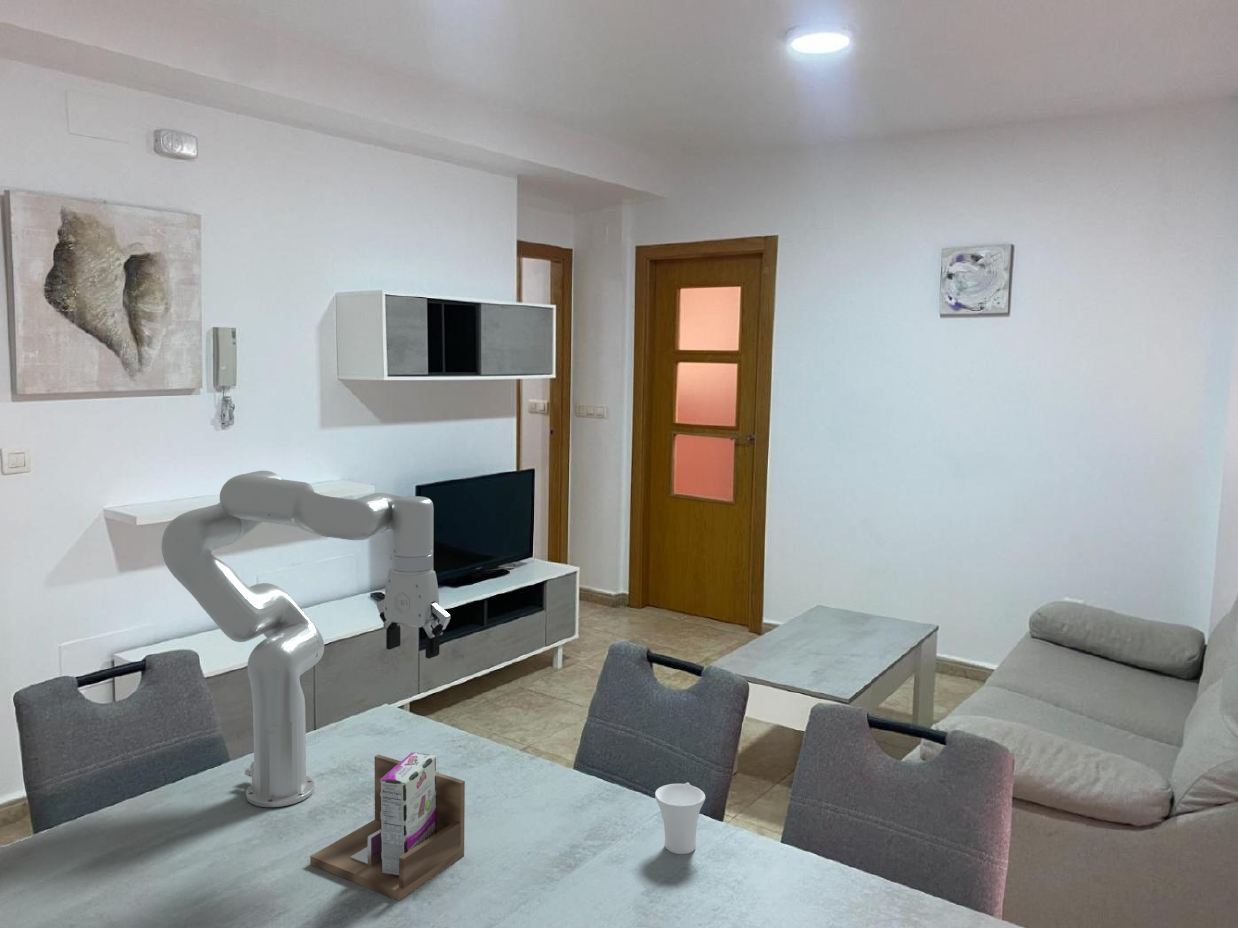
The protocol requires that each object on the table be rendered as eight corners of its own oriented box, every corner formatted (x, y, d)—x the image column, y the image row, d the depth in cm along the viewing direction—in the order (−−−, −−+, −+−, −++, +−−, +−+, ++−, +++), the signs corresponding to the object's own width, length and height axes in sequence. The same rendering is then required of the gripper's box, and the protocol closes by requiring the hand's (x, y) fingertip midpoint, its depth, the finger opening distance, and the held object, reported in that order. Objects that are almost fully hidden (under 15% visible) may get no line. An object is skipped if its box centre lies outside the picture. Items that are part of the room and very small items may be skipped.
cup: (710, 839, 168) (712, 787, 167) (692, 864, 159) (694, 808, 158) (665, 828, 171) (667, 776, 170) (645, 851, 163) (647, 797, 162)
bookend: (350, 858, 156) (350, 830, 155) (392, 833, 164) (392, 806, 164) (371, 866, 153) (371, 837, 153) (412, 840, 162) (412, 813, 161)
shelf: (310, 864, 156) (309, 787, 155) (378, 824, 170) (378, 754, 169) (399, 900, 146) (399, 819, 145) (464, 855, 160) (464, 780, 159)
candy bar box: (411, 840, 162) (411, 750, 160) (437, 845, 161) (437, 754, 159) (378, 874, 151) (378, 777, 149) (406, 879, 150) (406, 782, 148)
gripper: (364, 560, 174) (364, 649, 176) (435, 572, 165) (434, 665, 167) (392, 554, 180) (392, 639, 182) (462, 565, 172) (461, 655, 174)
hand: (412, 652), depth 175 cm, fingers open, 9 cm apart
